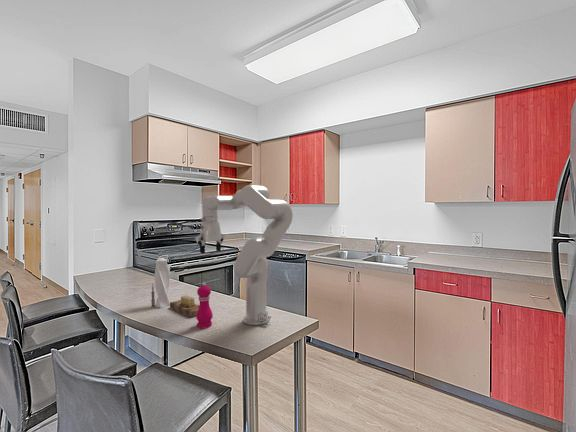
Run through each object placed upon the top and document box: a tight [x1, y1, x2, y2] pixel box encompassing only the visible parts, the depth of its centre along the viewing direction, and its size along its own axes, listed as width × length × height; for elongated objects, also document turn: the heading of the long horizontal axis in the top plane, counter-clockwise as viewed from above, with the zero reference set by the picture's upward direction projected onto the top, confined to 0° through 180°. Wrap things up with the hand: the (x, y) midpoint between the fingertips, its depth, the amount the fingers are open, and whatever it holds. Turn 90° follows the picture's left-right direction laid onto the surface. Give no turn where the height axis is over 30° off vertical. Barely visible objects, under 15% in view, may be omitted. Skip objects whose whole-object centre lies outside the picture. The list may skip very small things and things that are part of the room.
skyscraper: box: [150, 254, 171, 310], centre depth 168 cm, size 8×8×28 cm
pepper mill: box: [195, 282, 213, 329], centre depth 140 cm, size 7×7×20 cm
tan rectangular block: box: [180, 295, 195, 308], centre depth 160 cm, size 8×3×7 cm, turn 49°
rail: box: [169, 299, 200, 319], centre depth 160 cm, size 22×8×3 cm, turn 48°
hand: (210, 252), depth 162 cm, fingers open, 9 cm apart
